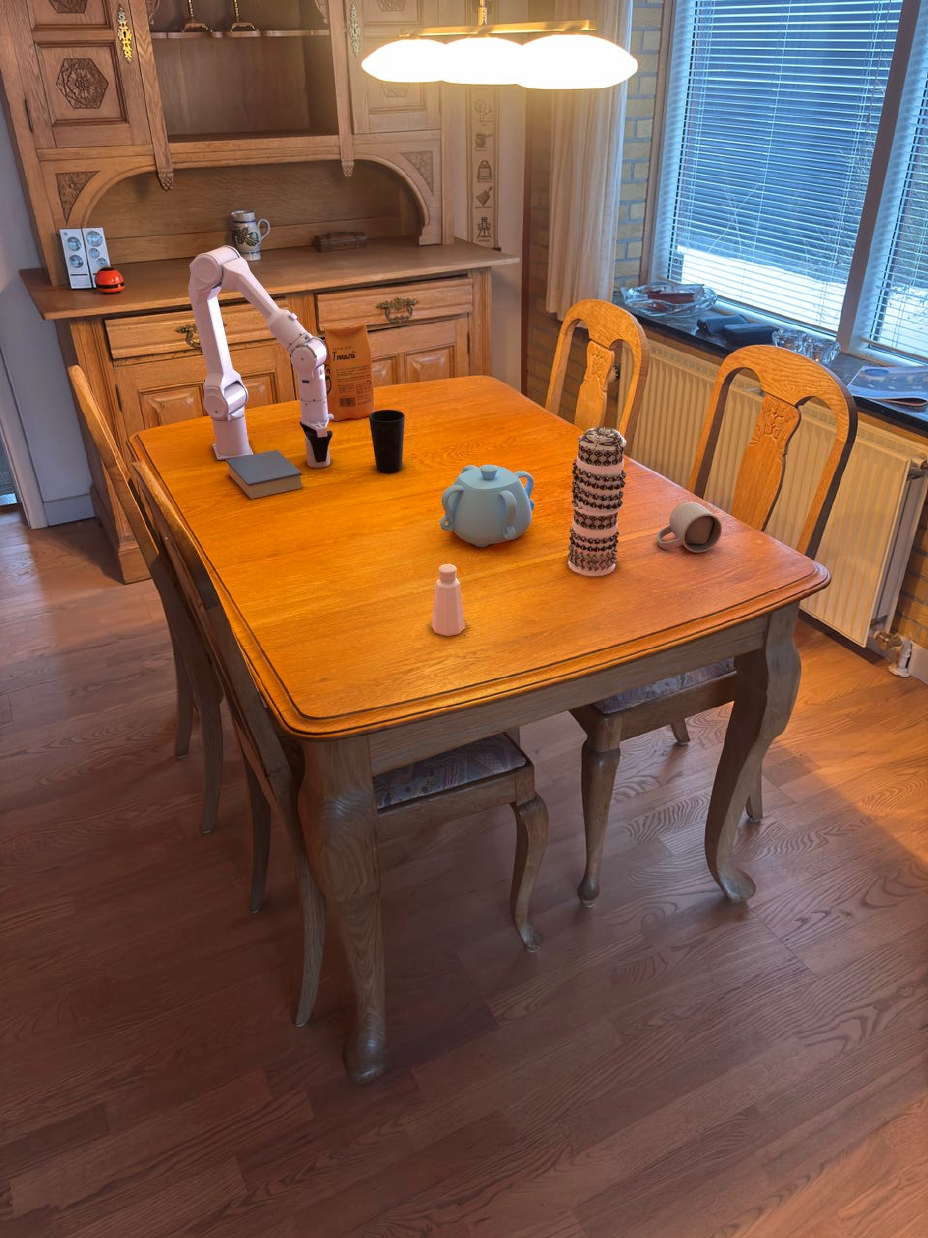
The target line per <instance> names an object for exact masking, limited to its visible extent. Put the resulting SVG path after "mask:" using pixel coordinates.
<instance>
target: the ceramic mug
mask: <svg viewBox="0 0 928 1238" xmlns="http://www.w3.org/2000/svg"><path fill="white" fill-rule="evenodd" d="M722 531H723V526H722V522H721V520H720V518H719V517H718V516H717V515H715V514H714V513H713V512H712V511H710V510H709V509H708V508H706V507H705V506H704V505H702V504H701V503H698V502H695V501H691V500H689V501H684V502H681V503H680V504H678V505H677V506H676V507H674V508H673V510H672V512H671V513H670V516H669V525H666V526H665V527H664V528H662V529H660V530H659V531H658V532H657V534H656V541H657V544H658V547H660V548H661V549H663V550H672V549H675V548H678V547H681V546H683V547H684V548H685V549H686V550H688V551H689V552H691V553H698V554H699V553H704V552H707V551H709V550H712V548H713V547H715V546H716V545H717V544H718V543H719V541H720V539H721V536H722ZM671 533H673V535H674V536H675V539H673V540H669V541H663V538H664V537H666V536H667V535H669V534H671Z"/></svg>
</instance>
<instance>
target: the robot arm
mask: <svg viewBox="0 0 928 1238" xmlns="http://www.w3.org/2000/svg"><path fill="white" fill-rule="evenodd" d="M188 266H189V271H190V278H189V283H188V287H187V290H188V296H189V300H190V304H191V309H192V313H193V317H194V321H195V325H196V329H197V335H198V338H199V342H200V346H201V351H202V355H203V360H204V363H205V368H206V373H207V376H206V377H205V380H204V383H203V385H202V389H203V399H202V405H203V409H204V410H205V412H206V413H207V415H208V416H209V417H210V419H211V421H212V426H213V433H214V435H213V436H214V440H215V443H213V444H212V448H213V451H214V453H215V456H216V459H217V461H222V460H228V459H233V458H238V457H243V456H248V455H253V454H254V452H253V450H252V448H251V444H250V443H249V436H248V430H247V429H248V428H247V422H246V413H245V409H246V407H245V406H246V404H247V403H248V401H249V392H248V389H247V387H246V386H245V384H244V383H243V381H242V377H241V374H240V373H239V372H237V371H236V370H235V369H234V367H233V364H232V360H231V355H230V350H229V346H228V341H227V337H226V332H225V327H224V324H223V323H224V322H223V319H222V314H221V309H220V305H219V300H218V295H219V294H220V292H221V290H229V291H235V292H238V293H240V294H241V295H242V296H243V298H245V299H246V300H247V301H248V302H249V303H250V304H251V305H252V306H253V307H254V308H255V309H256V310H257V311H258V312H259V313H260V315H262V317H264V318H265V319H266V320H267V321H266V322H267V330H268V331H269V332H270V334H272V335H273V337H274V338H275V339H276V340H277V341H278V342H279V343H280V345H281V346H282V347H283V348H284V350H286V351H287V352H288V354H289V355H290V357H289V360H290V362H291V365H292V367H293V368H294V369H295V371H296V378H297V385H298V386H297V387H298V395H299V408H300V421H299V422H298V423H299V425H300V427H301V428H302V431H303V432H304V435H305V437H306V436H307V437H308V439H309V441H310V443H311V446H312V449H313V453H314V457H315V460H316V462H317V463H319V462H325V461H326V458H327V451H328V445H329V446H330V441H331V440H332V437H333V436H334V435H333V434H334V432H333V431H332V430H328V429H327V428H328V424H329V422H330V421H333V419H334V416H333V415H332V414H328V410H327V398H326V385H325V374H324V364H322V363H323V362H324V361H325V360H326V358H327V348H326V346H325V344H324V340H323V339H321V338H319V337H318V336H313V335H312V334H311V333H310V332H308V331H307V330H306V329H305V327H303V325H302V324H301V323H300V322H299V321H298V320H297V319H298V316H297V315H296V314H295V313H294V312H290V310H288V309H283V308H282V309H281V308H280V307H279V306H278V305H277V303H276V302H275V301H274V300H273V299H272V297H271V295H269V293H268V292H267V290H266V289H265V288H264V287H263V286H262V284H261V283H260V282H259V281H258V279H257V278H256V277H255V275H254V274H253V272H252V271H251V270H250V269H251V268H250V266H249V264H248V262H247V260H246V259H245V258H244V257H242V256H241V255H240V253H239V251H238V250H237V249H236V248H235V247H233V246H231V245H223V246H219V247H218V248H216V249H213V250H210V251H207V252H202V253H199V254H198V255H196V256H195V258H194V259H193V260H192V261H191V262H190V263H189V265H188ZM321 364H322V365H321Z"/></svg>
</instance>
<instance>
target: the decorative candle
mask: <svg viewBox="0 0 928 1238" xmlns="http://www.w3.org/2000/svg"><path fill="white" fill-rule="evenodd" d="M577 442H578V451H577V456H576V459H574V460H573V463H572V466H573V467H572V468H573V469H572V470H571V474H572V475H573V477H572V481H571V484H572V489H571V490H570V491H571V493H572V500H571V505H572V507H573V518H572V522H571V523H572V524H571V528H570V529H569V532H570V536H569V538H568V539H569V541H570V542H569V545H568V551H569V552H568V554H567V557H568V561H567V565H568V567H569V569H570V570H572V572H574V573H576V574H579V575H582V576H586V577H602V576H606V575H610V573H612V572H614V571H615V569H616V560H618V557H617V553H618V551H619V550H618V548H617V546H618V543H619V539H618V537H619V535H620V532H619V531H618V530H619V529H618V526H619V521H618V517H619V511H621V509H622V505H623V504H624V502H623V500H622V498H623V497H624V495H625V493H624V492H623V491H622V490H621V489H623V488H625V486H626V485H627V484H626V481H625V479H626V478H627V472H625V470H624V469H623V468H624V467H625V466H624V465H625V458H624V453H625V447H626V446H627V444H628V441H627V439H626V438H625V437H623V436H622V435H621V433H620V432H619V431H618V430H617V429H615V428H611V427H606V426H596V427H591V428H589V429H587V430H586V431H585V432H584V433H583V434H582V435H580V436H579V437H578V438H577Z"/></svg>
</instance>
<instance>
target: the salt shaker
mask: <svg viewBox="0 0 928 1238" xmlns="http://www.w3.org/2000/svg"><path fill="white" fill-rule="evenodd" d="M438 577H439V578H438V579H437V580H436V581H435V586H434V596H433V608H432V617H431V628H432V629H433V632H434V633H435V634H436V635H441V636H445V637H451V636H456V635H457V636H458V635H460V634H461V633H462V631H464V629H465V628H466V623H465V614H464V606H463V597H462V589H461V582H460V581H459V580H458V578H457V566H455V565H454V564H451V563H444V564H442V565H439V567H438Z"/></svg>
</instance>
